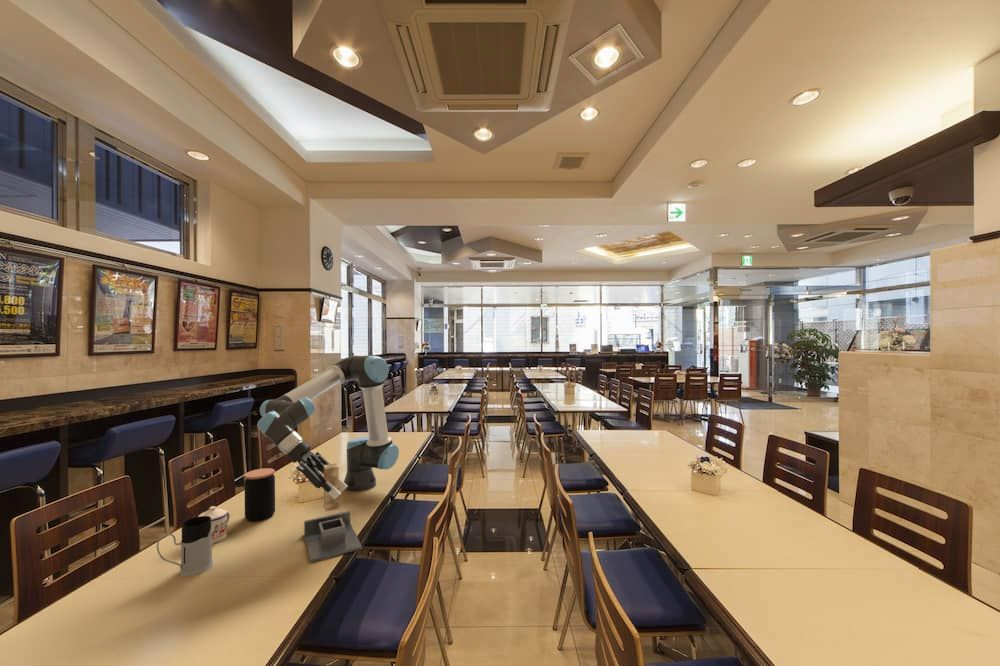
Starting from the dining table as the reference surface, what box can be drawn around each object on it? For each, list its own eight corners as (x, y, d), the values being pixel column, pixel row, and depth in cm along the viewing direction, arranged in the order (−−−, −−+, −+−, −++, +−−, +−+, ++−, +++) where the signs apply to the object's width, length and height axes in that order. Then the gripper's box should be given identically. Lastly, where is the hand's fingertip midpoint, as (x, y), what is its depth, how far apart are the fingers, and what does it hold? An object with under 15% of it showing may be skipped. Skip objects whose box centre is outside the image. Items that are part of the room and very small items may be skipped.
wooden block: (336, 504, 148) (336, 463, 148) (338, 508, 144) (338, 466, 144) (323, 507, 145) (323, 465, 145) (325, 511, 142) (325, 468, 142)
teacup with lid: (213, 546, 142) (213, 513, 142) (190, 545, 143) (190, 512, 143) (239, 529, 154) (239, 499, 154) (218, 528, 155) (217, 498, 155)
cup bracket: (349, 523, 158) (349, 508, 158) (361, 549, 139) (361, 531, 139) (304, 534, 150) (304, 518, 150) (310, 562, 131) (310, 544, 131)
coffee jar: (280, 511, 170) (280, 468, 170) (263, 523, 159) (263, 477, 159) (257, 510, 171) (256, 467, 171) (238, 522, 160) (238, 476, 160)
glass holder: (217, 567, 129) (217, 520, 129) (160, 588, 118) (160, 537, 118) (208, 557, 135) (208, 512, 135) (153, 577, 124) (153, 528, 124)
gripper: (300, 447, 154) (343, 490, 154) (273, 463, 135) (322, 511, 135) (314, 433, 154) (357, 476, 154) (289, 447, 135) (338, 495, 135)
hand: (341, 492), depth 145 cm, fingers closed on wooden block, 6 cm apart
